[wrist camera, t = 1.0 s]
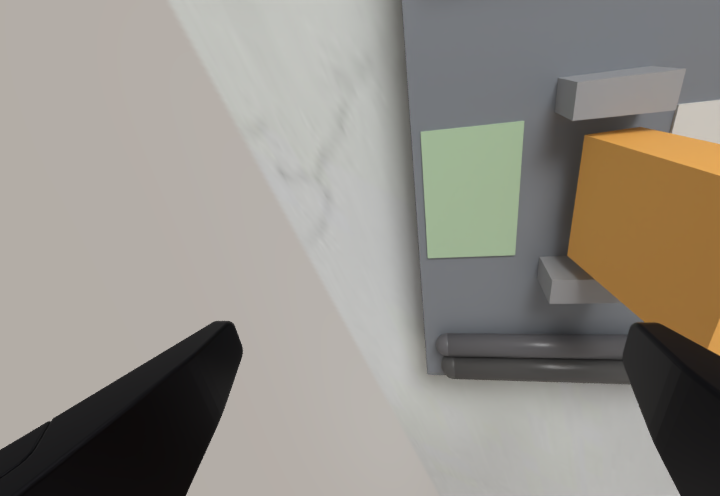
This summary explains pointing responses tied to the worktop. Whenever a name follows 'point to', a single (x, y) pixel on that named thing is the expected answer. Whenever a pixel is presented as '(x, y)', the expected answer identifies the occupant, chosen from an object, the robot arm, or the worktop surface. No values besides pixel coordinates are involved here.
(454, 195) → the panel
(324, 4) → the worktop surface
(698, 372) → the robot arm
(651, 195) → the lever
